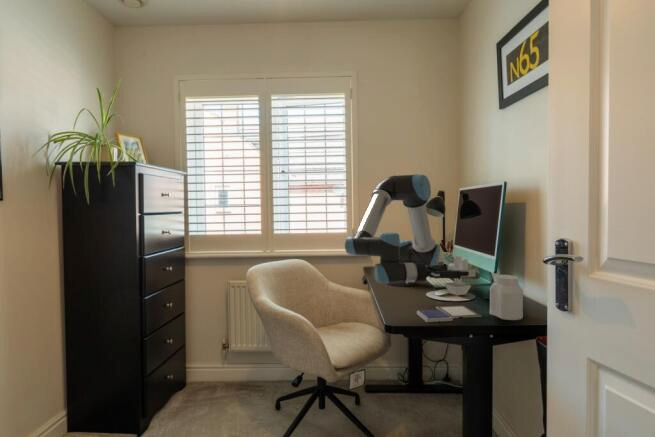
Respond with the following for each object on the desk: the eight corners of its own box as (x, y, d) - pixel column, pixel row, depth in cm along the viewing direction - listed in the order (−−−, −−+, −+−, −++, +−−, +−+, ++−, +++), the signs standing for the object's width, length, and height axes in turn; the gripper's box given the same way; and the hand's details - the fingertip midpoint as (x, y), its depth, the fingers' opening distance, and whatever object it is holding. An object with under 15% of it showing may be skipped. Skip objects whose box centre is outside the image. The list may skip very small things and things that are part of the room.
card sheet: (436, 307, 149) (436, 306, 149) (463, 306, 150) (463, 305, 150) (451, 318, 135) (451, 316, 135) (481, 316, 136) (481, 315, 136)
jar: (484, 312, 142) (485, 274, 141) (504, 309, 144) (504, 273, 144) (507, 321, 131) (507, 280, 130) (528, 318, 133) (528, 278, 133)
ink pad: (416, 313, 141) (416, 310, 140) (441, 312, 142) (441, 308, 142) (426, 322, 131) (426, 318, 131) (452, 320, 132) (452, 316, 132)
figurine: (456, 290, 148) (456, 254, 147) (473, 295, 139) (473, 257, 138) (442, 291, 145) (442, 255, 144) (459, 297, 136) (459, 258, 136)
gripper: (404, 276, 151) (455, 274, 153) (425, 288, 129) (483, 286, 132) (404, 258, 150) (455, 257, 153) (425, 267, 129) (483, 265, 131)
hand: (468, 270), depth 142 cm, fingers closed on figurine, 9 cm apart
